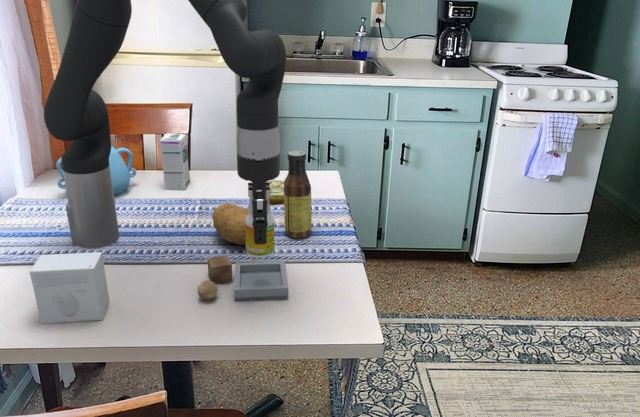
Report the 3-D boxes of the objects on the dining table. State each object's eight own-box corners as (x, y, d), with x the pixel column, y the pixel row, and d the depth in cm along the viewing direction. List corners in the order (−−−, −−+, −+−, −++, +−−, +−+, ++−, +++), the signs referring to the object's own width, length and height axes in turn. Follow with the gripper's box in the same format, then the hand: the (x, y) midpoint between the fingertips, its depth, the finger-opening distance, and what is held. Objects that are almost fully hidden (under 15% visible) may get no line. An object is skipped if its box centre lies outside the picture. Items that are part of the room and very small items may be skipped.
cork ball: (197, 304, 101) (196, 287, 99) (198, 293, 104) (197, 277, 103) (217, 303, 101) (216, 286, 100) (218, 292, 104) (217, 276, 103)
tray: (234, 301, 102) (234, 290, 101) (235, 273, 111) (235, 262, 110) (288, 299, 103) (288, 288, 102) (284, 271, 112) (284, 261, 111)
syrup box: (185, 190, 150) (181, 139, 144) (164, 189, 150) (159, 138, 144) (190, 182, 155) (186, 133, 149) (169, 182, 155) (165, 132, 149)
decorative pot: (105, 208, 138) (98, 157, 132) (53, 198, 142) (44, 148, 137) (143, 186, 152) (139, 139, 146) (95, 177, 156) (89, 131, 151)
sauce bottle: (316, 234, 128) (319, 153, 120) (297, 242, 124) (299, 160, 116) (297, 225, 132) (298, 146, 124) (278, 233, 128) (278, 152, 120)
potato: (250, 259, 116) (250, 225, 113) (203, 240, 123) (201, 208, 120) (279, 242, 124) (279, 210, 121) (232, 225, 131) (231, 194, 128)
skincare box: (110, 299, 101) (102, 250, 97) (103, 320, 95) (94, 269, 91) (50, 303, 100) (40, 252, 95) (39, 324, 94) (27, 272, 90)
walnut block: (212, 285, 107) (211, 267, 105) (208, 275, 110) (207, 258, 109) (232, 281, 108) (231, 264, 107) (227, 272, 112) (227, 254, 110)
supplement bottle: (269, 260, 101) (269, 212, 97) (242, 256, 102) (240, 209, 98) (277, 247, 106) (277, 201, 102) (251, 243, 107) (250, 198, 103)
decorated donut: (303, 200, 146) (303, 187, 145) (267, 208, 141) (267, 195, 139) (283, 187, 154) (283, 175, 153) (249, 194, 149) (249, 182, 147)
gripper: (237, 138, 102) (240, 220, 109) (235, 164, 89) (239, 255, 96) (277, 137, 102) (278, 219, 109) (282, 163, 89) (282, 254, 96)
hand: (259, 235), depth 102 cm, fingers closed on supplement bottle, 5 cm apart
